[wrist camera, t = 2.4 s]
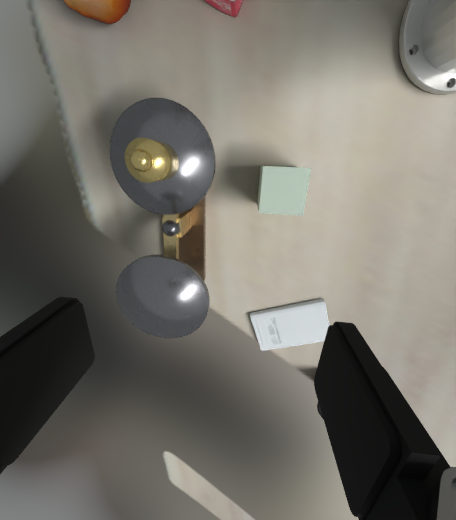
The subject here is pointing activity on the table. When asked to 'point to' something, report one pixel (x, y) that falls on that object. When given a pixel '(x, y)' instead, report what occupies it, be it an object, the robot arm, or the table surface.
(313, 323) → the external hard drive
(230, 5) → the ink box
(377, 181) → the table surface
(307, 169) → the sage block
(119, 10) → the fruit
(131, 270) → the balance
